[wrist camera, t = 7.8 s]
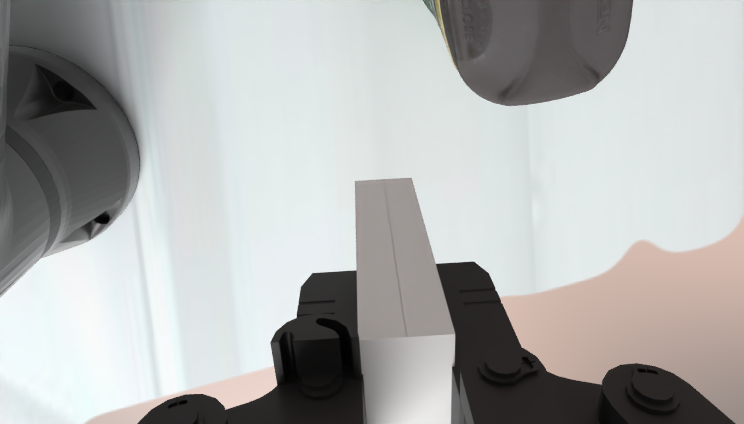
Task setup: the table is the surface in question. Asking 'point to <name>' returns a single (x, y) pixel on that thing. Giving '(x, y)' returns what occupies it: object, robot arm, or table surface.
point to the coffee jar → (532, 45)
